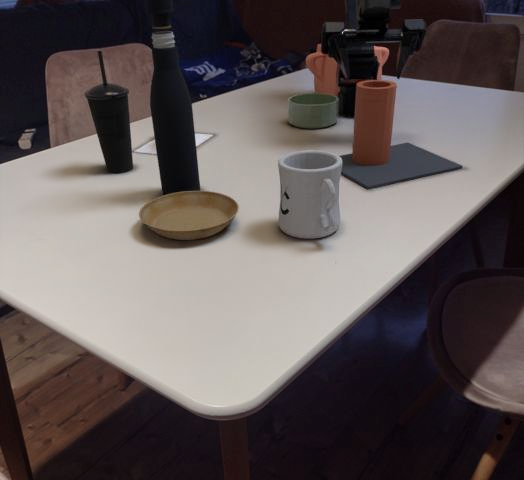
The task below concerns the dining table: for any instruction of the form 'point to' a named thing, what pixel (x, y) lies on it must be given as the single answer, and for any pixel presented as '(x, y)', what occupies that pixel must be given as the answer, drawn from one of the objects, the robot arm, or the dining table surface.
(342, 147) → the dining table surface
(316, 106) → the sage bowl
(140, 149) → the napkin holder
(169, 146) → the wine bottle
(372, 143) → the terracotta jar
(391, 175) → the felt mat
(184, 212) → the plant saucer
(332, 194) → the mug
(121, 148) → the drinking cup
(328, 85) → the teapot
